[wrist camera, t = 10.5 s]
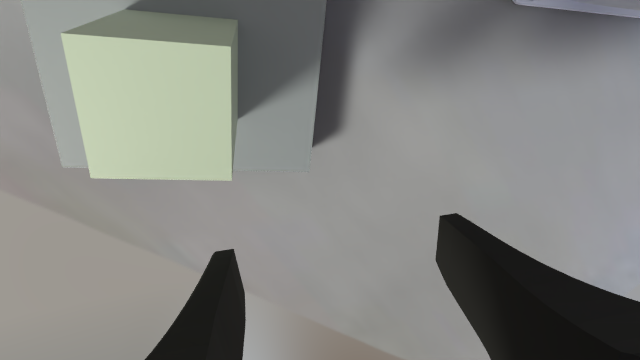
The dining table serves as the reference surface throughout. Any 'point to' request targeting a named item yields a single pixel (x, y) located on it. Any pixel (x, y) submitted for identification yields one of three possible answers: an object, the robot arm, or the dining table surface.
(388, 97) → the dining table surface
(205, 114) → the green block
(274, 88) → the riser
